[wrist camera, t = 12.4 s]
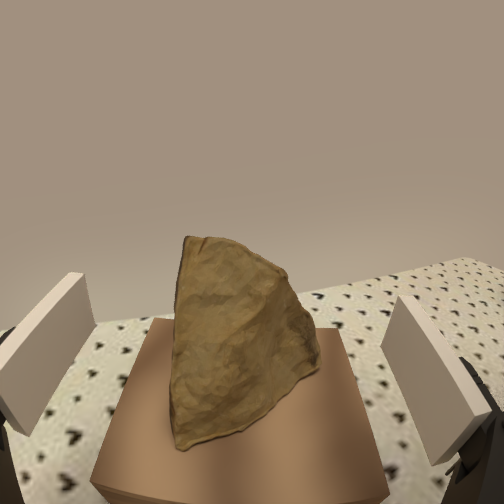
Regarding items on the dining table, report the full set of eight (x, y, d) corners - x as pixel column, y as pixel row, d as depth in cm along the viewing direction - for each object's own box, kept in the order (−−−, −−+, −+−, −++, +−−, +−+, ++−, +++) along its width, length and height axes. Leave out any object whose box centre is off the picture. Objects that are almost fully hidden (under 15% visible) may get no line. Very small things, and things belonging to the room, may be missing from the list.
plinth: (327, 363, 26) (337, 328, 24) (363, 516, 12) (389, 494, 11) (159, 353, 26) (154, 317, 24) (111, 505, 12) (89, 481, 10)
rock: (311, 302, 23) (179, 287, 22) (371, 248, 16) (184, 218, 14) (313, 444, 18) (164, 441, 16) (388, 453, 11) (156, 464, 9)
